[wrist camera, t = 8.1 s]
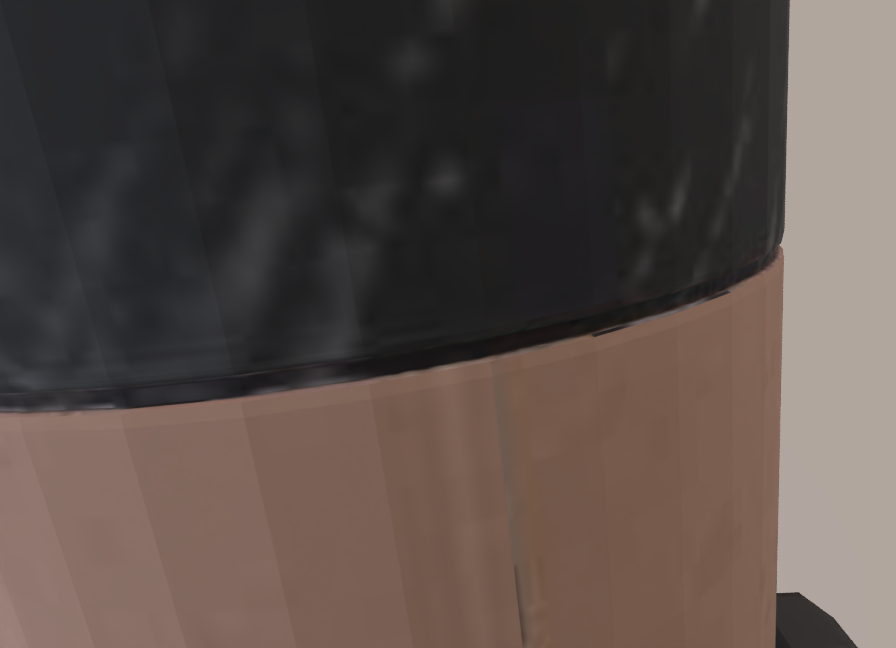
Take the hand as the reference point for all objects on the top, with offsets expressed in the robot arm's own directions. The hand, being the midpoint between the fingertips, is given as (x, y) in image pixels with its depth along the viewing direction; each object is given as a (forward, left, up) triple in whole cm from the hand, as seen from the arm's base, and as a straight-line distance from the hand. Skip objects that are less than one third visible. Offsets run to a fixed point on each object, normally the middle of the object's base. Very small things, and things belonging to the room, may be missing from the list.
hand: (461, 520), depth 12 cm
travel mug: (-4, +2, -11) cm, 12 cm away
